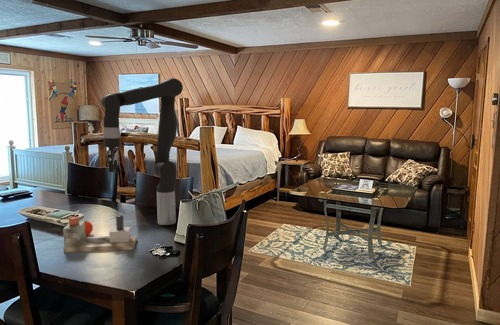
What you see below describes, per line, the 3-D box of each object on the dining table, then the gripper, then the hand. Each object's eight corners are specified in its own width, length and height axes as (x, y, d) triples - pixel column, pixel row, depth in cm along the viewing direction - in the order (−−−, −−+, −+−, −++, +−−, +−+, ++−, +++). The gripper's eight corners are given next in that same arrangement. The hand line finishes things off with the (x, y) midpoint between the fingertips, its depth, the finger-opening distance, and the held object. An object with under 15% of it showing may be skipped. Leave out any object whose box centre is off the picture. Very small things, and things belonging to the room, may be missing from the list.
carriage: (131, 237, 172) (130, 214, 171) (128, 242, 166) (128, 217, 165) (112, 238, 171) (111, 214, 169) (109, 243, 165) (108, 218, 164)
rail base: (136, 239, 176) (136, 218, 174) (133, 249, 164) (132, 227, 163) (72, 242, 172) (71, 221, 170) (63, 252, 160) (62, 229, 158)
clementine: (77, 233, 184) (76, 218, 183) (92, 231, 187) (92, 217, 186) (77, 238, 177) (76, 223, 176) (93, 236, 180) (92, 222, 178)
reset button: (80, 223, 167) (80, 216, 166) (77, 226, 163) (77, 219, 163) (70, 223, 166) (70, 216, 166) (67, 226, 162) (67, 219, 162)
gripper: (117, 138, 176) (118, 172, 178) (122, 135, 190) (123, 168, 192) (100, 138, 174) (101, 173, 177) (106, 135, 188) (108, 168, 191)
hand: (113, 170), depth 184 cm, fingers open, 8 cm apart
